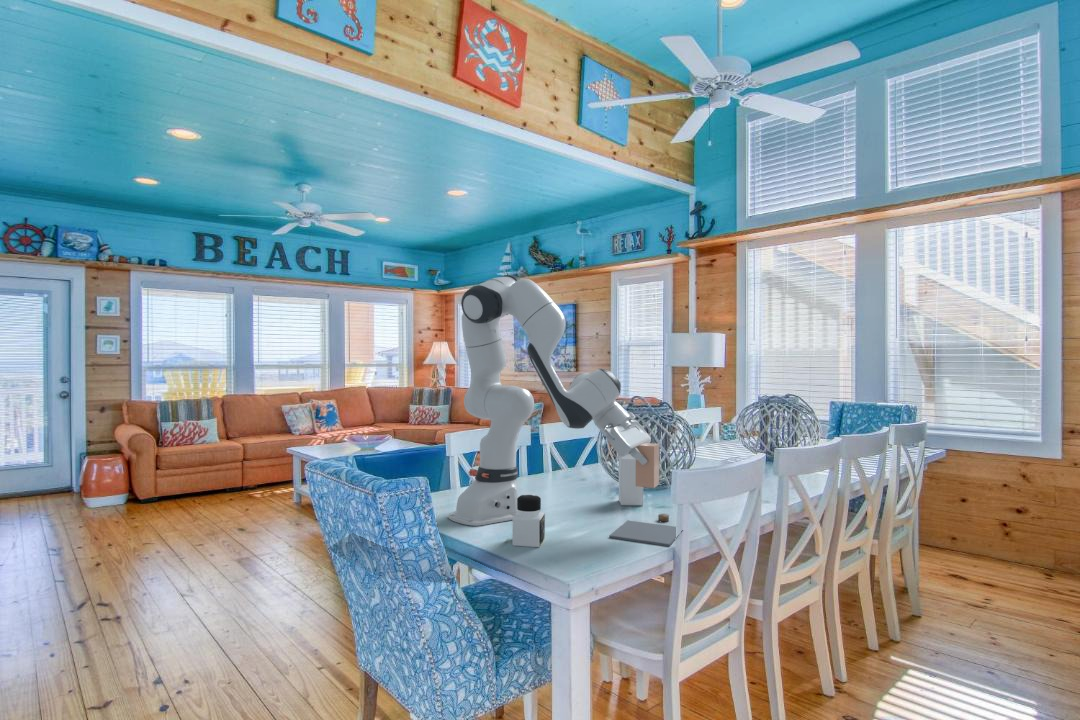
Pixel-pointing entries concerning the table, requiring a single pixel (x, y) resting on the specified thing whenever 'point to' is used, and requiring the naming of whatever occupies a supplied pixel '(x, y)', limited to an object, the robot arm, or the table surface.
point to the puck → (663, 517)
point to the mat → (646, 533)
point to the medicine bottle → (528, 522)
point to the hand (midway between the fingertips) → (649, 461)
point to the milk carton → (629, 482)
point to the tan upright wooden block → (648, 466)
